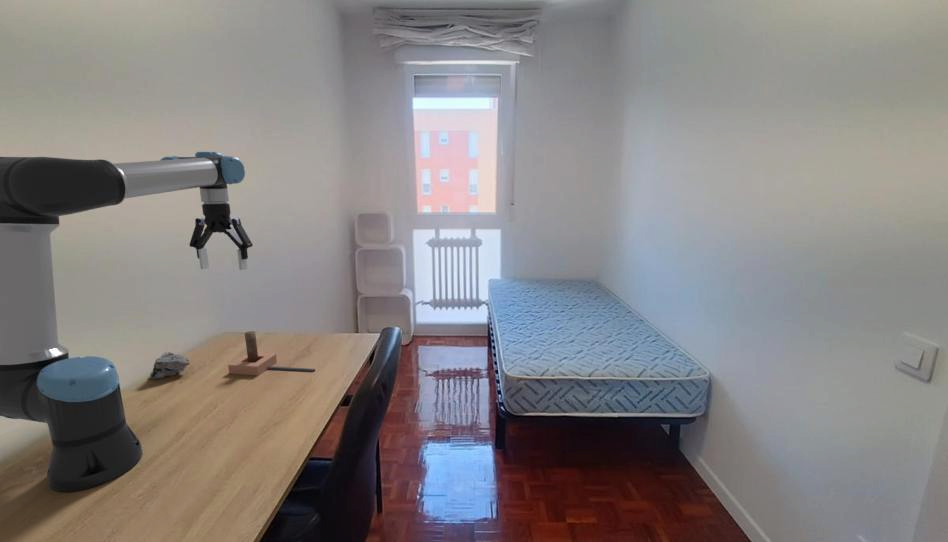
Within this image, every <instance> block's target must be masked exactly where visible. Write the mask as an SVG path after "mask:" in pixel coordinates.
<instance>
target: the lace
mask: <svg viewBox="0 0 948 542" xmlns="http://www.w3.org/2000/svg"><path fill="white" fill-rule="evenodd" d="M267 370H278V371H279V370H280V371H297V372H311V373H312V372H313V373H314V372H315V371H316V368H309V367H304V368H303V367H290V366H286V367H285V366H273V365H272V366H268V367H267Z"/></svg>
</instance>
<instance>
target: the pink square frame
mask: <svg viewBox="0 0 948 542" xmlns="http://www.w3.org/2000/svg"><path fill="white" fill-rule="evenodd" d="M277 359H278V358H277V354H276V353H267V352H258V361H257V362H255V363H250V362H248V356H247V353H245V354H244V355H242V356H240V357H239V358H237V359H235V360H233V361H231V362H230V363H229V364H227V366H228V374H230V375H246V376H260V375H262V374H263V373H265V371H266V370H268V369H267V367H268V366H272V367H273V366H274V365H275V364H277V362H278V361H277Z"/></svg>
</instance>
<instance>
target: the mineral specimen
mask: <svg viewBox="0 0 948 542" xmlns="http://www.w3.org/2000/svg"><path fill="white" fill-rule="evenodd" d="M190 364H191V361H190V360H189V359H188V358H187V357H185V356H183V355H181V354H179V353H177V354H175V353H173V352H170V351H169V352H168V351H167V352H164V353H163V354H162V355H160V356H159V357H158V358H157V359H155V361H154V364H153V368H152V371H151V373H150V376H149V377H150V379H151V380H157V379H158V380H159V379H163V378H165V377H169V376H170V377H171V376H174V375H175V376H176V374H177V373H180V372H183V371H185V369H186V368H187V367H188V366H189V365H190Z"/></svg>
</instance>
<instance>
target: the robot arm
mask: <svg viewBox="0 0 948 542" xmlns="http://www.w3.org/2000/svg"><path fill="white" fill-rule="evenodd" d="M244 165H245V164H244V163H243V161H242V160H241V159H240V158H238V157H236V156H228V155H223V154H222V153H221V152H218V151H197V152H195V156H175V155H174V156H173V155H172V156H164V157H162V158H161V159H160V160H148V161H147V160H146V161H145V160H144V161H134V162H133V161H131V162H119V163H113V162H111V161H110V160H107V159H101V158H100V159H76V158H74V159H73V158H65V157H64V158H61V157H51V156H0V417H4V418H7V419H12V420H25V421H30V422H38V423H44V424H46V425H47V428H48V432H49V436H50V439H51V444H52V450H51V455H50V460H49V466H48V470H47V472H46V479H47V482H48V487H49V488H50V489H52V491H57V492H61V493H62V492H63V493H67V492H69V493H71V492H76V491H82V490H86V489H89V488H90V489H91V488H94V487H96V486H100V485H103V484H106V483H107V482H109V481H113V480H114V479H116V478H118V477H120V476H122V475H123V474H125V473H127V472H128V471H130V470H131V469H132V468H134V466H136V465H137V464H138V463H139V462H140V460H141V459H142V456H143V449H142V444H141V441H140V439H138V438H137V436H136V434H135V433H134V432H133V431H132V429H131V428H130V426H129V425H128V423H127V419H126V415H125V408H124V403H123V397H122V391H121V386H120V377H119V374H118V371H117V369H116V366H115V364H114V363H113V362H112V361H111V360H110V359H108V358H104V357H99V356H91V355H90V356H83V357H80V356H77V357H76V356H74V357H69V356H70V355H69V349H68V348H66V347H65V346H63V345H61V344H59V338H58V325H57V324H58V323H57V311H56V297H55V284H54V283H55V281H54V269H53V268H54V267H53V257H52V242H51V234H52V232H54V231H55V230H56V229H57V228H59V227H60V217H62V216H67V215H74V214H78V213H83V212H86V211H90V210H96V209H100V208H105V207H110V206H116V205H120V204H122V203H123V202H124V201H125V200H126V199H130V198H139V197H144V196H150V195H157V194H158V195H159V194H163V193H170V192H176V191H184V190H189V189H197V188H199V194H200V200H201V203H202V204H201V207H202V215H203V216H204V217H196V218H195V219H194V220H195V221H194V222H195V226H194V228H193V229H194V230H193V232H192V236H191V239H190V242H189V247H191V248H194V249H196V256H197V259H198V260H199V265H200V266H199V267H200V270H205V269H208V268H210V265H209V257H208V250H207V248H206V244H207V243H208V241H209V240H210V238H211V237H212V235H213V234H214V233H219V234H220V233H224V235H227V237H228V238H229V239H230V240H231V241H232V242H233V243H234V245H236V246H237V248H238V249H237V250H236V252H237V259H238V260H237V261H238V267H239V271H243V270H247V269H248V265H247V264H248V263H247V260H248V258H249V256H248V249H249V248H252V247H253V242H252V241H251V239H250V237H249V235H248V233H247V232H246V230H245V229H244V227H243V225H242V222H241V218H240V217H235V218H232V219H231V206H230V203H228V202H229V201H230V198H229V191H228V185H234V184H235V185H236V184H240V183H241V182H243V180H244V179H245V177H246V170H245V166H244ZM205 225H206V227H205Z"/></svg>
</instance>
